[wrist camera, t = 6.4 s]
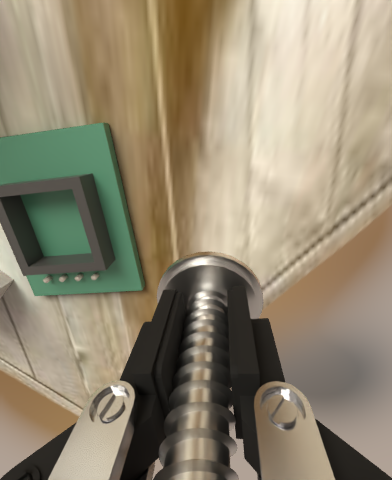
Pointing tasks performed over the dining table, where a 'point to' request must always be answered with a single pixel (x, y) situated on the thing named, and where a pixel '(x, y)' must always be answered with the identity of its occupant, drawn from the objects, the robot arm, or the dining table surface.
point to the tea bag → (4, 283)
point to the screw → (203, 368)
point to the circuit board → (68, 212)
